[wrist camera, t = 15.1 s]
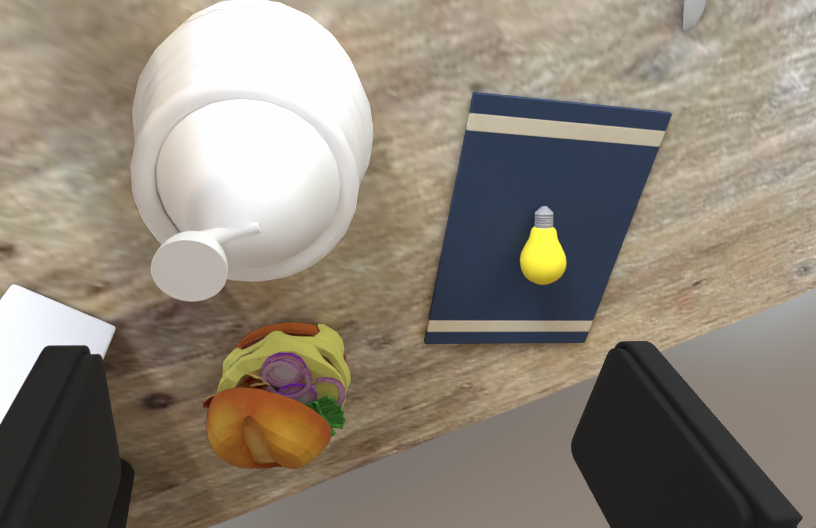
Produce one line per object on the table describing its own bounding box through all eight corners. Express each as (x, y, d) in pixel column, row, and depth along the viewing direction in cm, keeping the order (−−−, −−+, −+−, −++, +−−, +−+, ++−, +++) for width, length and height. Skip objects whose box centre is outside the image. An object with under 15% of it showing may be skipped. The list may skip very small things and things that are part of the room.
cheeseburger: (380, 357, 47) (374, 467, 39) (289, 401, 51) (268, 508, 44) (296, 287, 42) (271, 399, 34) (202, 343, 46) (161, 453, 38)
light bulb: (518, 276, 45) (521, 290, 41) (519, 203, 43) (522, 211, 40) (561, 276, 44) (567, 291, 41) (564, 202, 43) (571, 210, 39)
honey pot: (205, 226, 38) (152, 425, 23) (109, 32, 31) (-58, 138, 16) (384, 174, 39) (447, 337, 24) (330, -29, 32) (369, 18, 16)
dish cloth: (473, 91, 37) (474, 93, 36) (669, 111, 40) (672, 113, 40) (423, 341, 47) (424, 344, 47) (582, 340, 51) (584, 343, 50)
